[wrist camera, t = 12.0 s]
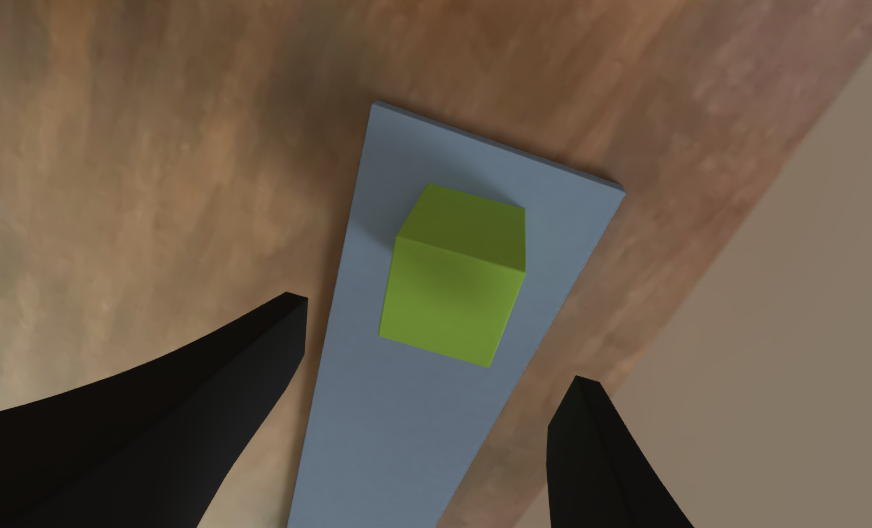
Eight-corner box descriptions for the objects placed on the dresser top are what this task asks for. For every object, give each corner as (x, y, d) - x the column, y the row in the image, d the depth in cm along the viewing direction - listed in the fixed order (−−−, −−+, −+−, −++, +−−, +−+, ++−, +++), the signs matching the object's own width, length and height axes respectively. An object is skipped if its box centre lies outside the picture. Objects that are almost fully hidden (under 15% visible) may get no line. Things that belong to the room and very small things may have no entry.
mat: (377, 99, 16) (371, 103, 16) (622, 185, 16) (627, 192, 16) (287, 538, 35) (282, 548, 34) (400, 579, 35) (398, 590, 34)
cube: (525, 208, 17) (527, 272, 12) (497, 290, 19) (489, 369, 14) (428, 182, 17) (395, 236, 12) (410, 265, 19) (377, 336, 14)
